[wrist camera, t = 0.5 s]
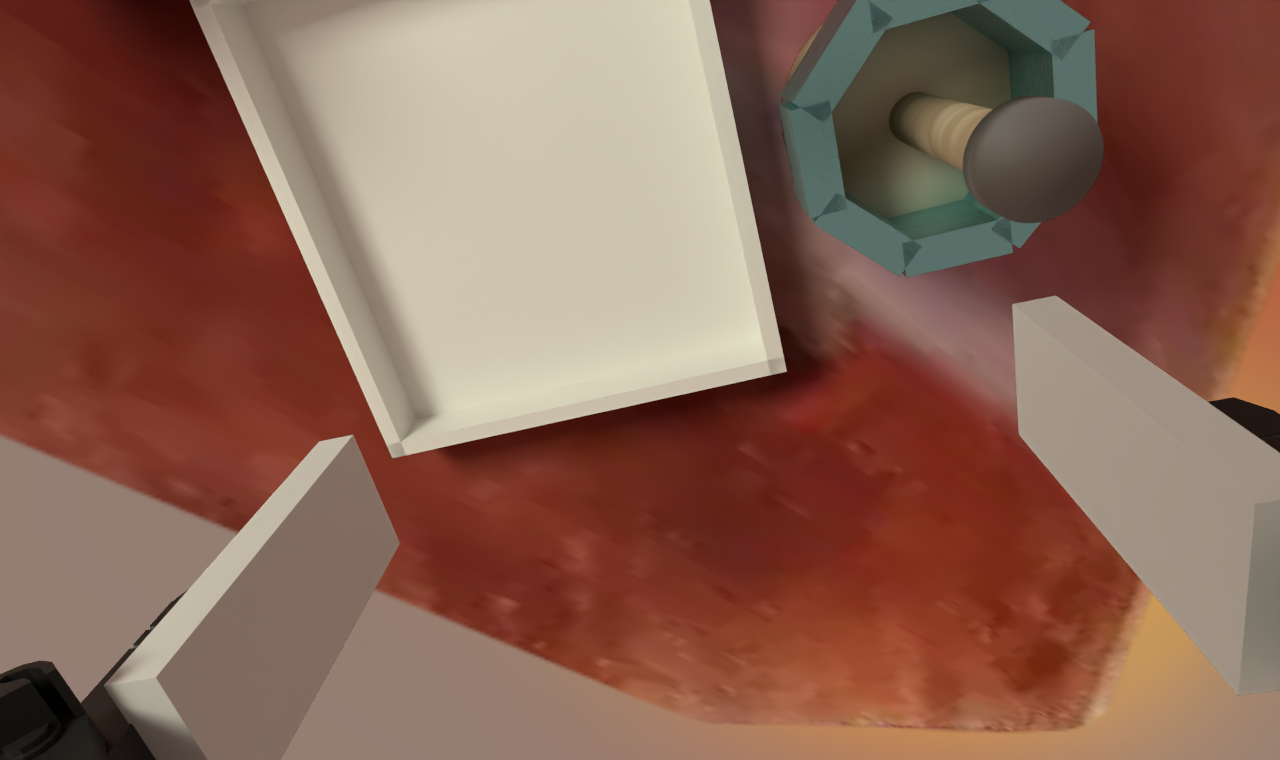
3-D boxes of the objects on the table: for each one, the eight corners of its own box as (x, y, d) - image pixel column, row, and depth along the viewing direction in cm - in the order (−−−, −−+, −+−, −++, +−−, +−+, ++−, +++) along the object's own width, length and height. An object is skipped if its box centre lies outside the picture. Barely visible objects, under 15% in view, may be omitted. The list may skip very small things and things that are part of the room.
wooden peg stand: (762, 27, 35) (827, 21, 19) (981, -36, 34) (1242, -97, 18) (800, 231, 39) (881, 365, 23) (999, 183, 37) (1230, 290, 22)
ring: (1054, 210, 33) (1101, 232, 29) (809, 268, 34) (824, 296, 31) (1027, -269, 27) (1082, -317, 23) (727, -171, 28) (734, -202, 24)
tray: (228, -8, 36) (184, -12, 32) (674, -153, 33) (673, -174, 29) (413, 427, 44) (392, 458, 41) (778, 345, 41) (786, 371, 38)
